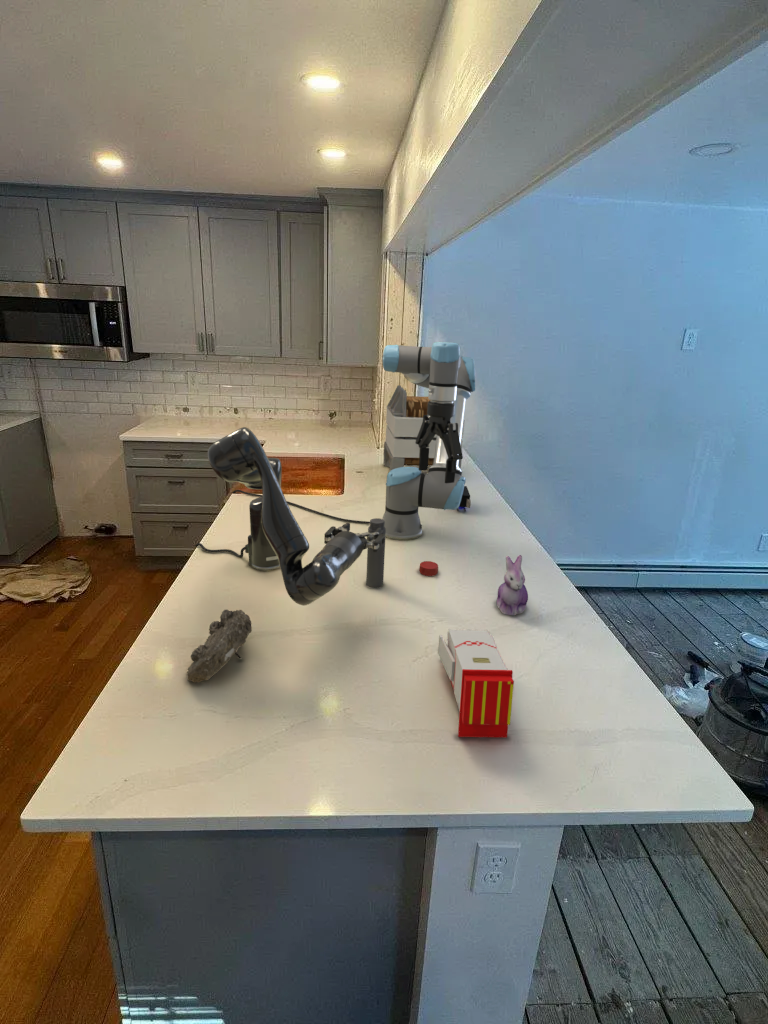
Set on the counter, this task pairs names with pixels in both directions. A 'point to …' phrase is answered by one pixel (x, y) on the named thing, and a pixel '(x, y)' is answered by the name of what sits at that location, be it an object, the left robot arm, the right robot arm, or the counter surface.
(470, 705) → the toy
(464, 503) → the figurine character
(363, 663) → the counter surface
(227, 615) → the fossil
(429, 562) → the lid
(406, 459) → the grey storage crate
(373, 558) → the grey cylinder
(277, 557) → the left robot arm
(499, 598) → the figurine
